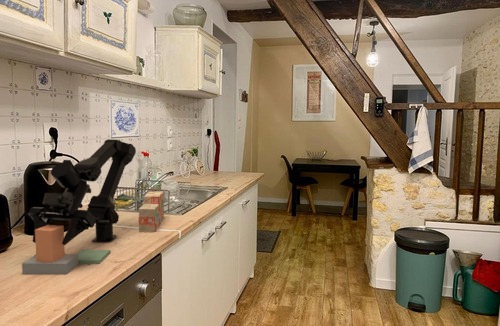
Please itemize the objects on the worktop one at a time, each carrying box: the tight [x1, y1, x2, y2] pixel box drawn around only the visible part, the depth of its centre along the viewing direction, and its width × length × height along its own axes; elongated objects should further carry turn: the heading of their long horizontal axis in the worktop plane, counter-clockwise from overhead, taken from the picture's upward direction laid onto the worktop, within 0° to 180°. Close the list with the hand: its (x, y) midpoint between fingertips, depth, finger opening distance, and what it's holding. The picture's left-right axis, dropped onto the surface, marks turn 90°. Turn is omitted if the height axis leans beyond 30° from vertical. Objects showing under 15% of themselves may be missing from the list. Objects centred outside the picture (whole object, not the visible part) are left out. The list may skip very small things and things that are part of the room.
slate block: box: [21, 253, 79, 275], centre depth 102 cm, size 7×12×3 cm, turn 91°
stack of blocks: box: [138, 190, 165, 233], centre depth 147 cm, size 21×6×12 cm, turn 4°
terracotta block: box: [35, 224, 66, 263], centre depth 101 cm, size 5×5×9 cm
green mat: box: [76, 249, 112, 265], centre depth 111 cm, size 9×9×1 cm
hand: (48, 243), depth 101 cm, fingers open, 9 cm apart
